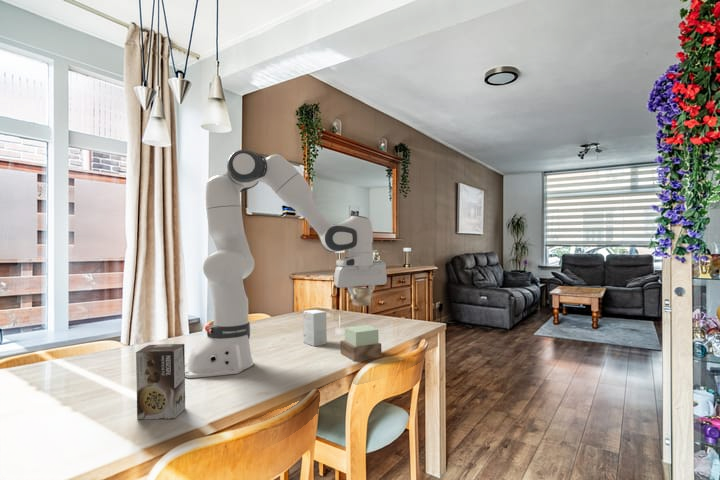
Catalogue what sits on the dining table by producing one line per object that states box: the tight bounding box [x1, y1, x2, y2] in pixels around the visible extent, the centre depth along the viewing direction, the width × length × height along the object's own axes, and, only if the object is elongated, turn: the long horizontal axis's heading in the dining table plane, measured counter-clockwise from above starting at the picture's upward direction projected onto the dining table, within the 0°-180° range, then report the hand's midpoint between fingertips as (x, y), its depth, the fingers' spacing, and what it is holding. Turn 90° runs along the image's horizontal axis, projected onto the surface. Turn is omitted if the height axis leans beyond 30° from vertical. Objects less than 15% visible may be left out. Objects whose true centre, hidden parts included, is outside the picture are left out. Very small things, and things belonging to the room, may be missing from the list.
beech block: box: [351, 286, 372, 307], centre depth 142 cm, size 5×5×6 cm
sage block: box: [344, 324, 380, 347], centre depth 142 cm, size 9×9×5 cm
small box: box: [302, 309, 328, 347], centre depth 159 cm, size 8×6×13 cm
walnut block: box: [340, 339, 382, 363], centre depth 142 cm, size 11×11×5 cm
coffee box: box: [135, 343, 186, 420], centre depth 94 cm, size 9×6×16 cm
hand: (361, 298), depth 142 cm, fingers closed on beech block, 5 cm apart
